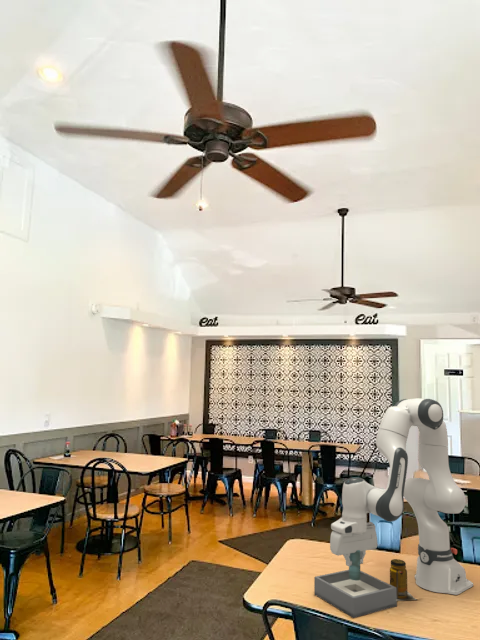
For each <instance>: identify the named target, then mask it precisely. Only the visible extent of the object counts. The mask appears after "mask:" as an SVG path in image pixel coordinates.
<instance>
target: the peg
mask: <svg viewBox="0 0 480 640" xmlns="http://www.w3.org/2000/svg"><path fill="white" fill-rule="evenodd" d="M349 558H350V560H351V561H352V566H348V570H349V578H350V579H351V580H360V571H361V564H360V550H357V551H356V552H355V553H350V556H349Z"/></svg>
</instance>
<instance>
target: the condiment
mask: <svg viewBox="0 0 480 640" xmlns="http://www.w3.org/2000/svg"><path fill="white" fill-rule="evenodd" d="M406 565H407V563H406V561H405V560H402V559H398V558H393V559H391V560H390V567H389V584H390V585H392V586H394V587H396V592H397V602H398V601H403V602H404V601H417V600H418V599H417V598H416V597H414V596H413V594H411V593H410V591H408V570H407V567H406Z"/></svg>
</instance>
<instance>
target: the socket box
mask: <svg viewBox="0 0 480 640" xmlns="http://www.w3.org/2000/svg"><path fill="white" fill-rule="evenodd" d="M313 587H314V592H313V593H314V596H316V597H318V598H319V599H321V600H322V601H324V602H326V603H328V604H329V605H331V606H333V607H334V608H336V609H338V610H339V611H340V612H343V613H344V614H346V615H348V616H349V617H351V618H353V619H355V618H359V617H362V616H366V615H370V614H373V613H378V612H380V611H385V610H388V609H392V608H395V607H397V606H398V605H397V604H398V603H397V602H398V600H397V592H396V587H394V586H392V585H390V583H388V582H385V581H383V580H381V579H379V578H377V577H375V576H373V575H371V574H368V573H366V572H364V571H362V570H360V580H351V579H350V578H349V569H346V570H340V571H336V572H332V573H331V572H330V573H325V574H322V575H321V574H320V575H317V576H314V585H313Z"/></svg>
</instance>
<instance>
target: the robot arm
mask: <svg viewBox="0 0 480 640" xmlns="http://www.w3.org/2000/svg"><path fill="white" fill-rule="evenodd" d="M412 427H416V428H418V432H419V435H418V456H417V457H418V459H417V460H418V464H419V466H420V467H421V468H422V469H424V470H425V472H426V474H427V476H428V478H429V479H427V478H423V477H409V478H407V471H408V465H409V464H408V463H409V456H408V453H407V448H406V446H407V441H408V436H409V433H410V429H411V428H412ZM375 445H376V448H377V450H378V451H379V453H380V454H381V455H382V456H384V458H386V459H387V461H388V463H389V471H388V479H387V484H386V488H385V489H382V488H380V487H377V486H374V485H372V484H370V483H368V482H367V481H366V480H365V479H364V478H361V477H350V478H347V479H346V480H344V482H343V485H342V493H341V503H342V513H341V517H340V518H339V519H337V520H336V521H334V522H332V523H331V524H330V528H331V530H332V531H331V533H330V539H329V548H330V549H329V550H330V552H331V553H332V554H334V555H335V556H343V557H344V560H345V565H346V566H347V567H349V566H352V561H351V560H350V558H349V556H350V553H355V552H356V551H357V550H360V565H362V564H364V558H365V555H366V553H367V552H366V551H371V550H375V549H377V547H378V535H377V530H376V525H375V524H374V523H373V522H372V521H369V522H367V521H368V520H367V519H368V518H367V517H368V516H367V514H368V513H369V514H371V515H374V516H377V517H379V518H380V519H383V520H384V521H386V522H390V523H391V522H395V521H397V520H398V519H400V517H401V516H402V515H403V513H404V508H405V502H404V501H406V502H407V503H408V504H409V506H410V507H411V508H412V510H413V513H414V515H415V518H416V522H417V526H418V527H417V529H418V545H417V554H418V556H417V560H416V572H415V574H414V580H415V584H416V585H417V586H418V587H420V588H421V589H424V590H427V591H430V592H434V593H441V594H442V593H443V594H449V595H455V596H456V595H457V596H458V595H460V594H461V593H463V592H465V591H467V590H469V589H470V588H472V587H473V586H474V583H473V582H472V581H471V580H469V579H467V574H466V570H465V567H464V566H463V565H462V564H460V562H459V561H457V560H456V559H455V558H454V555H457V554H458V549H456V548H454V547H450V545H451V544H450V529H449V526H448V525H447V523H446V522H445V521H444V520H443V519H442V518H441V517H440V515H439V513H438V512H440V513H444V514H460V513H461V512H462V511H463V510H464V509H465V506H466V502H467V500H466V495H465V493H464V490H462V488H461V487H460V486H459V485H458V484H457V483H456V481H455V479H454V478H453V476H452V472H451V469H450V465H449V464H450V463H449V437H448V431H447V425H446V423H445V421H444V410H443V407H442V405H441V404H440V403H439V402H438V401H437V400H436V399H435V400H434V399H431V398H421V397H419V398H418V397H415V398H409V399H408V398H403V399H400V400H398V401H397V402H395V403H394V405H393V406H390V407H388V408H387V409H386V411H385V413H384V415H383V417H382V420H381V422H380V424H379V428H378V431H377V434H376V438H375ZM453 554H454V555H453Z"/></svg>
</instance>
